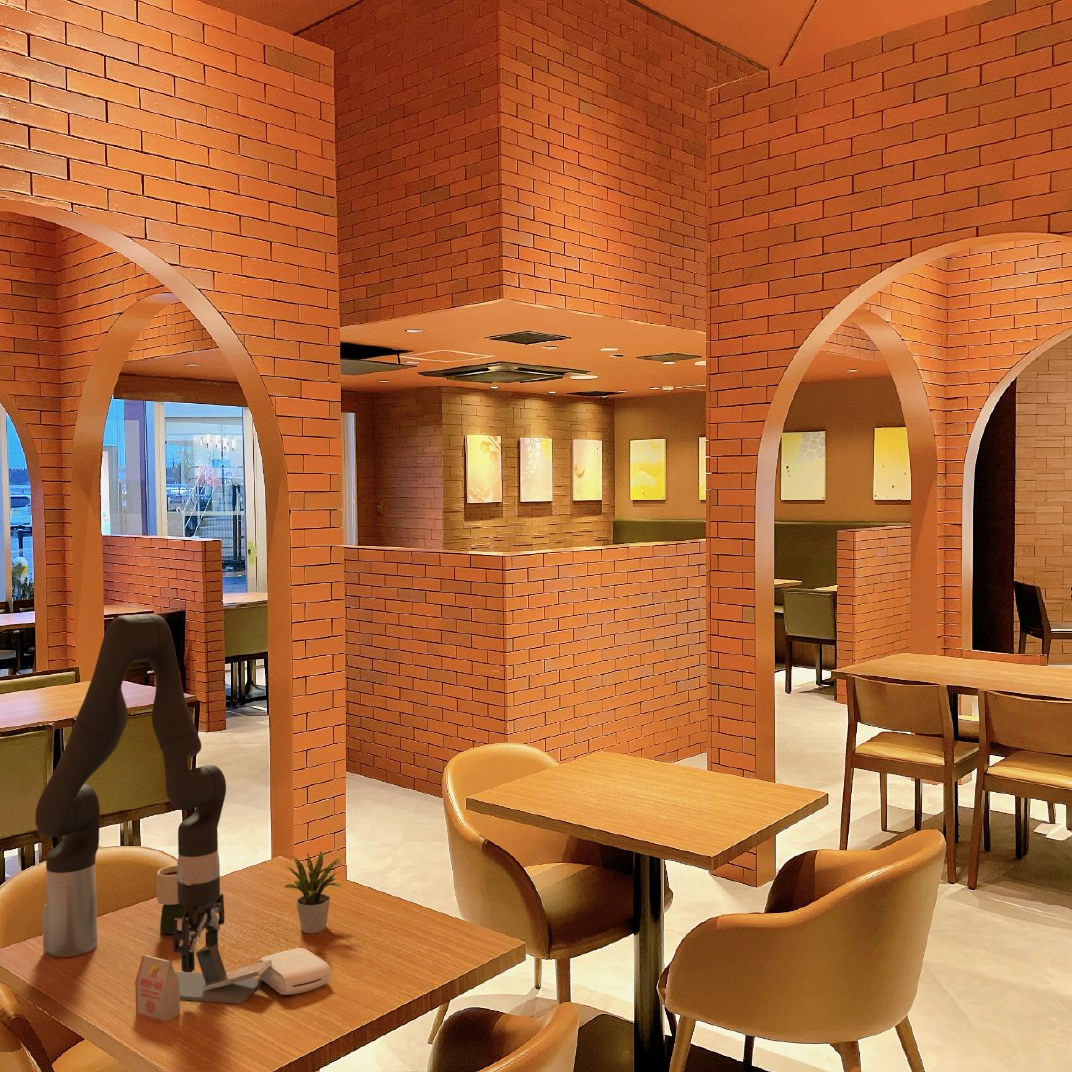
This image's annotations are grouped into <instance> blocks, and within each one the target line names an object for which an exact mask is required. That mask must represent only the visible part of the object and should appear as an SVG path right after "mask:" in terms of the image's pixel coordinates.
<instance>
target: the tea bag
mask: <svg viewBox="0 0 1072 1072" xmlns="http://www.w3.org/2000/svg"><path fill="white" fill-rule="evenodd" d="M134 982H135V985H134V986H135V1016H138V1015H139V1016H138V1017H142V1016H143V1017H142V1018H145V1017H146V1018H147V1019H149V1020H153V1021H156V1022H159V1021H160V1023H163V1022H164V1023H166V1022H167V1021H168V1022H169V1020H171V1019H173V1018H174V1017H176V1016H178V1015H180V1014H181V1007H180V1006H181V1001H180V1000H181V999H180V993H179V979H178V977H177V975H176V971H175V968H174V967H173V963H172V961H171V960H168V959H167V960H166V959H163V958H159V957H155V956H152V955H147V954H142V955H141V961H140V965H139V969H138V972H137V975H136V978H135V981H134ZM165 1021H166V1022H165Z"/></svg>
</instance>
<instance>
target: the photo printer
mask: <svg viewBox="0 0 1072 1072" xmlns="http://www.w3.org/2000/svg"><path fill="white" fill-rule="evenodd" d="M268 960H271V961H272V964H271V965H270V966H269V967H268V968H267V969H266V970H265V971H264V972H263V973H261V974H260V975H259V976H258V978H261V979H262V980H263V981H264V982H263V983H266V984H267V985H268V986H269V987H271V988H272V989H274V990H275V991H276V992H277V993H279V994H280V995H282V996H283V995H285V996H286V995H287V996H289V995H290V996H291V995H297V994H301V993H306V992H310V991H312V990H315V989H318V988H320V987H322V986H324V985H327V983H329V982H330V980H331V979H332V977H331V973H332V972H331V968H330V965H329V964H328V963H327V962H326V961H325V960H323V959H322V958H320V957H318V955H316V954H314V953H312V952H311V951H309V950H308V949H306V948H305V947H299V948H298V947H296V948H292V949H288V950H283V951H281V952H277V953H273V954H269V955H266V956H263V957H261V958H260V959H259V960H258V962H257V963H261V962H264V961H268Z"/></svg>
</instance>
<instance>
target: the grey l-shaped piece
mask: <svg viewBox="0 0 1072 1072" xmlns="http://www.w3.org/2000/svg"><path fill="white" fill-rule="evenodd" d="M195 955H196V958H197V962H198V964H199V968H200V969H201V974H203V977H204V980H205V983H206V984H205V985H204V986H203V987H202V988H203V991H207V990H210V989H214V988H217V987H221V986H224V985H228V984H231V983H235V982H238V981H242V980H245V979H249V978H257V977H259V975H260V974H261V973H263V972H264V971H265V970H266V969H267V968H268V967H269V966H270V965H271V964H272V961H271V960H268V961H264V962H261V963H258V962H257V963H255V964H250V965H248V966H245V967H240V968H237V969H234V970H230V971H226V970H225V966H224V962H223V960H222V957H221V954H220V950H219V946H218V947H217V944H213V945H210V946H206V945H205V946H203V947H202V948H200V949H199V950H198V951H196V952H195Z"/></svg>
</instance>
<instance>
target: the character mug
mask: <svg viewBox="0 0 1072 1072" xmlns="http://www.w3.org/2000/svg"><path fill="white" fill-rule="evenodd" d="M156 899H157V902H158V904H160V905H163V906H162V907H161V908H162V909H161V915H160V924H159V925H160V927H159V931H160V932H161V933H162V934H172V933H173V923H174V919H176V918H177V919H181V918H182V917H183V915H184V907H183V906H182V905H181V904H179V902H178V885H177V864H176V865H175V864H174V865H168V866H165V867H162V868H160V869H159V870H157V872H156Z"/></svg>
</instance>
